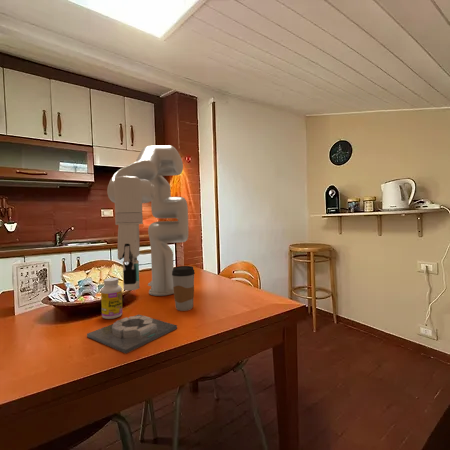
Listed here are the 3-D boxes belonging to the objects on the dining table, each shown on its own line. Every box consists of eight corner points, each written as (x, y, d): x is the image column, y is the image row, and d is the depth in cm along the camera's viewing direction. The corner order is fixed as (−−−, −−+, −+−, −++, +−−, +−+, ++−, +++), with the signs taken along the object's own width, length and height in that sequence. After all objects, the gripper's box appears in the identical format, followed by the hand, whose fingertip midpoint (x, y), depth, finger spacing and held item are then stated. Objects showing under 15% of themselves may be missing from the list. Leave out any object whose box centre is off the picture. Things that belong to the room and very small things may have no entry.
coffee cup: (199, 305, 106) (198, 266, 106) (189, 313, 98) (188, 270, 98) (179, 303, 109) (178, 265, 108) (168, 310, 101) (167, 269, 100)
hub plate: (87, 337, 81) (86, 326, 80) (138, 317, 95) (138, 308, 95) (125, 353, 70) (125, 341, 70) (177, 328, 85) (176, 318, 85)
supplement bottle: (107, 321, 93) (105, 282, 92) (98, 316, 97) (97, 279, 97) (126, 315, 97) (124, 278, 97) (117, 311, 102) (115, 276, 101)
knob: (120, 289, 82) (119, 261, 81) (133, 285, 85) (132, 259, 85) (131, 291, 79) (130, 262, 78) (144, 288, 82) (143, 260, 82)
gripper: (121, 219, 89) (123, 276, 90) (108, 220, 73) (111, 290, 73) (145, 219, 91) (147, 275, 91) (138, 219, 74) (141, 288, 75)
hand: (131, 281), depth 82 cm, fingers closed on knob, 4 cm apart
